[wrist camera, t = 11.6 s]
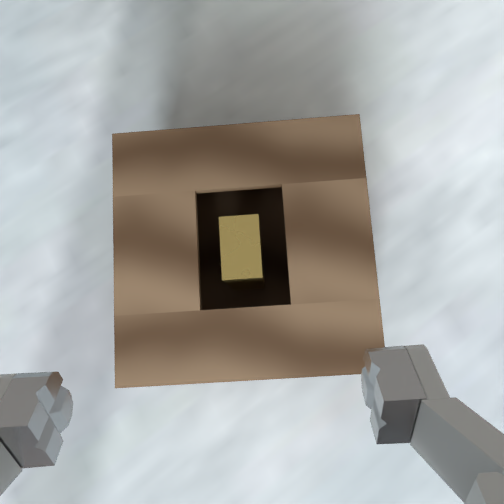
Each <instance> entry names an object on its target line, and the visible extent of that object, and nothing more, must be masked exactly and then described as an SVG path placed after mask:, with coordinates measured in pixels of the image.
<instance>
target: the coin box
mask: <svg viewBox="0 0 504 504" xmlns="http://www.w3.org/2000/svg"><path fill="white" fill-rule="evenodd" d="M112 150H113V243H114V335H115V388H127V387H145V386H162V385H179V384H196V383H214V382H231V381H248V380H266V379H283V378H300V377H317V376H335V375H352V374H362V369H363V368H364V367H365V363H364V360H363V355H364V351H365V349H369V348H380V347H385V345H384V336H383V327H382V317H381V308H380V299H379V290H378V281H377V271H376V262H375V253H374V244H373V235H372V225H371V216H370V207H369V198H368V189H367V179H366V170H365V161H364V152H363V143H362V133H361V124H360V115H359V114H356V115H343V116H330V117H318V118H305V119H293V120H280V121H268V122H255V123H242V124H230V125H217V126H205V127H192V128H180V129H167V130H155V131H142V132H129V133H117V134H112ZM251 214H258V215H259V222H260V230H261V238H262V250H263V264H264V279H265V288H263V289H249V290H234V289H232V288H231V287H230V286H229V285H227V284H226V283H225V282H224V281H222V271H221V252H220V232H219V217H224V216H237V215H251Z"/></svg>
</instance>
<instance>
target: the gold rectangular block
mask: <svg viewBox="0 0 504 504" xmlns="http://www.w3.org/2000/svg"><path fill="white" fill-rule="evenodd" d="M219 232H220V252H221V271H222V281H224V282H225V283H226V284H227V285H229V286H230V287H231V288H232V289H234V290H249V289H263V288H265V279H264V264H263V250H262V238H261V230H260V222H259V215H258V214H251V215H237V216H224V217H219Z"/></svg>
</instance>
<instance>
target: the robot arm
mask: <svg viewBox="0 0 504 504" xmlns="http://www.w3.org/2000/svg"><path fill="white" fill-rule="evenodd" d="M363 360H364V363H365V367H364V368H363V369H362V374H361V382H362V391H363V396H364V400H365V404H366V406H368V407H369V408H370V409H371V416H370V422H371V426H372V429H373V433H374V437H375V440H376V444H394V443H410V445H411V446H412V447H413V448H414V449H415V450H416V451H417V453H418V454H419V455H420V456H421V457H422V458H423V459H424V460H425V461H426V462H427V463H428V464H429V465H430V467H431V468H432V469H433V470H434V471H435V472H436V473H437V474H438V475H439V476H440V477H441V478H442V479H443V481H444V482H445V483H446V484H447V485H448V486H449V487H450V488H451V489H452V490H453V491H454V492H455V494H456V495H457V496H458V497H459V498H460V499H461V500H462V501H463V502H464V504H504V434H503V433H502V432H500V431H499V430H498V429H496V428H495V427H494V426H493V425H491V424H490V423H489V422H487V421H486V420H485V419H483V418H482V417H481V416H479V415H478V414H477V413H476V412H474V411H473V410H472V409H470V408H469V407H468V406H466V405H465V404H464V403H463V402H461V401H460V400H459V399H457V398H450V397H449V394H448V392H447V390H446V388H445V386H444V384H443V382H442V379H441V377H440V375H439V373H438V371H437V369H436V366H435V364H434V362H433V360H432V358H431V356H430V354H429V351H428V349H427V347H426V346H424V345H409V346H392V347H380V348H369V349H365V351H364V355H363ZM62 381H63V379H62V377H61V376H60V374H59V372H39V373H18V374H1V375H0V496H1V494H2V493H3V492H4V491H5V490H6V489H7V488H8V486H9V485H10V484H11V483H12V482H13V481H14V480H15V478H16V477H17V476H18V475H19V474H20V473H21V472H22V468H33V467H43V466H54V465H55V463H56V460H57V457H58V455H59V452H60V449H61V446H62V443H63V439H62V437H61V434H60V433H61V432H62V431H63V430H64V429H65V428H66V427H67V426H68V425H69V423H70V420H71V417H72V410H73V401H72V396H71V394H70V392H69V390H68V389H66V388H64V387H62V386H61V383H62Z"/></svg>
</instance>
